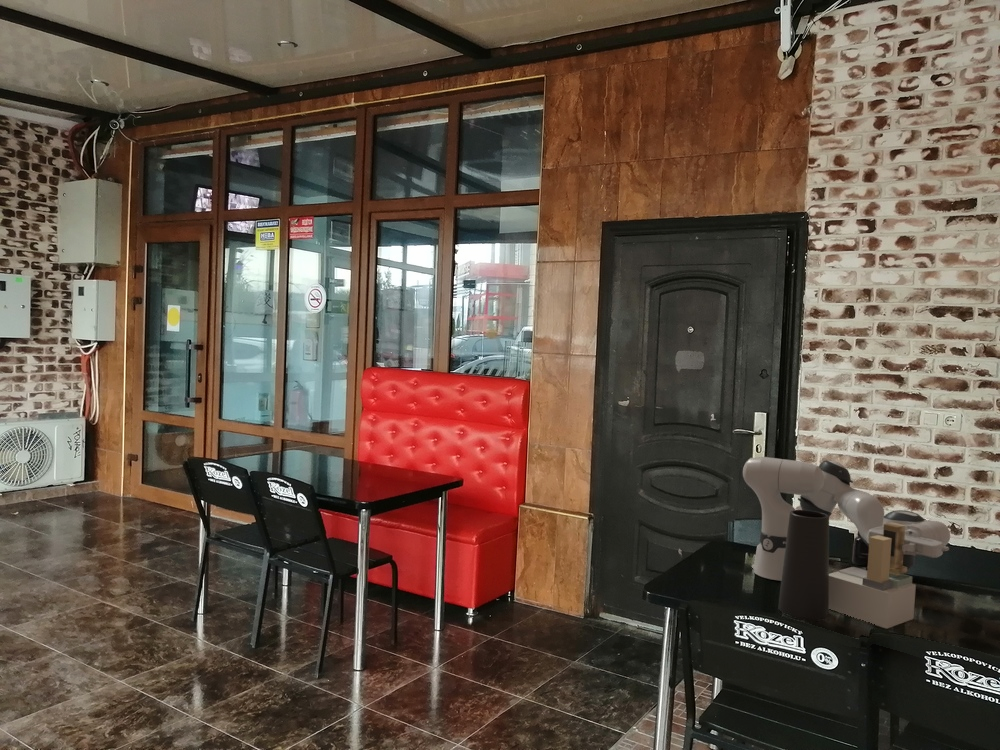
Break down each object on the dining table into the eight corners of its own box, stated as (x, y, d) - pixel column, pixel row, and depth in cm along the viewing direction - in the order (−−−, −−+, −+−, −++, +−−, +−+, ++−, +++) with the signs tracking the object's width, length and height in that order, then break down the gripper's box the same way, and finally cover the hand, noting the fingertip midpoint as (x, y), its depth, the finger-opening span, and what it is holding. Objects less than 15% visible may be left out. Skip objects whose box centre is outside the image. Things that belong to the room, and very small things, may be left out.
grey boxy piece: (850, 599, 247) (856, 522, 246) (913, 618, 232) (919, 536, 230) (823, 607, 238) (828, 527, 237) (886, 628, 223) (892, 543, 221)
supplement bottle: (864, 567, 282) (866, 534, 281) (847, 562, 288) (850, 529, 288) (877, 565, 285) (879, 532, 285) (860, 560, 291) (863, 527, 291)
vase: (769, 610, 234) (775, 512, 232) (791, 600, 243) (797, 506, 242) (815, 624, 224) (822, 521, 222) (836, 613, 234) (842, 515, 232)
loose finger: (886, 566, 236) (889, 521, 235) (906, 572, 231) (910, 525, 231) (875, 569, 233) (879, 523, 232) (896, 575, 228) (899, 528, 227)
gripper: (950, 559, 231) (927, 566, 223) (881, 542, 248) (857, 548, 239) (952, 537, 231) (929, 543, 223) (882, 521, 247) (858, 527, 239)
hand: (891, 545), depth 231 cm, fingers closed on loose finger, 4 cm apart
